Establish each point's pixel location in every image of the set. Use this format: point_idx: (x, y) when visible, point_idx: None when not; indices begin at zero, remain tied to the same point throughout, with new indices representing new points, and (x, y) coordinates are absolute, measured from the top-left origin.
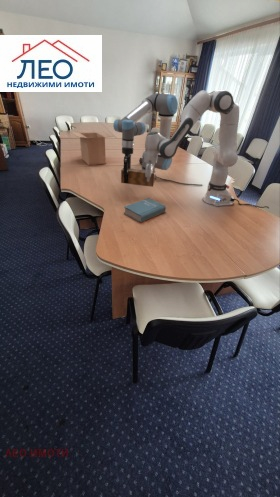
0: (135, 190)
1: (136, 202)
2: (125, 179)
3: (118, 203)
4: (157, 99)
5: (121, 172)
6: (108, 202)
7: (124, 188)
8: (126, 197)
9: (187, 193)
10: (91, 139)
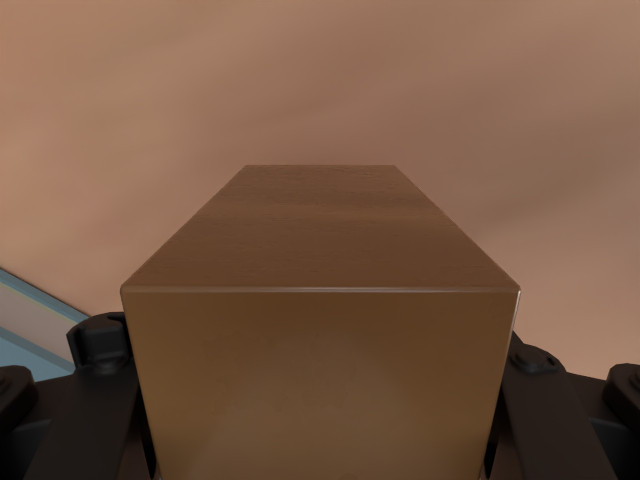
0: (536, 243)
1: (49, 364)
2: None
3: (138, 138)
4: None
5: (164, 253)
6: (108, 10)
7: (590, 105)
8: None
9: None
10: None
